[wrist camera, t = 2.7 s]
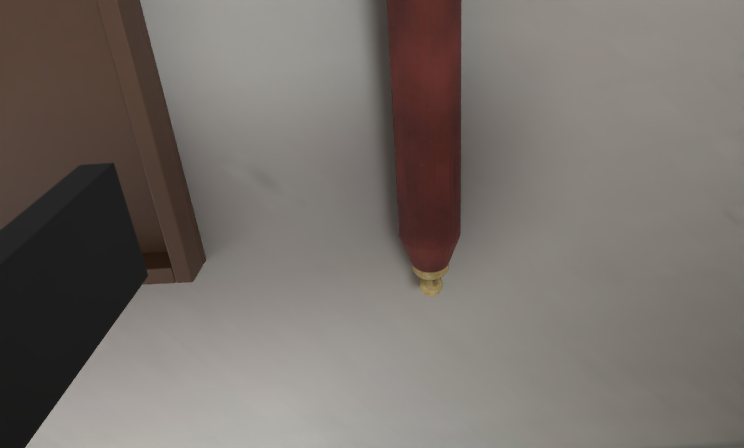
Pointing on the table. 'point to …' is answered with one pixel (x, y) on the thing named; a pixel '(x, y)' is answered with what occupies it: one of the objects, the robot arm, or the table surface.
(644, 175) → the table surface
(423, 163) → the gavel
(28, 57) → the tray
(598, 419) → the table surface
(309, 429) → the table surface
